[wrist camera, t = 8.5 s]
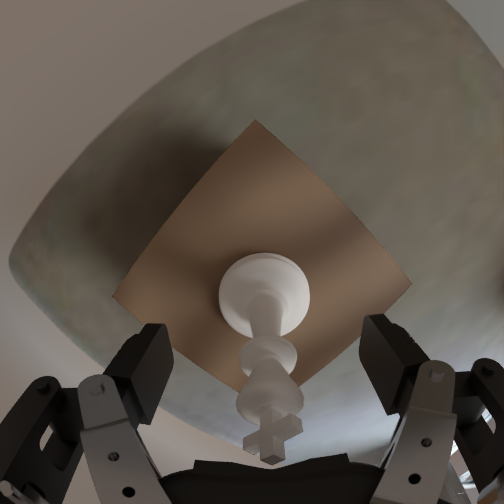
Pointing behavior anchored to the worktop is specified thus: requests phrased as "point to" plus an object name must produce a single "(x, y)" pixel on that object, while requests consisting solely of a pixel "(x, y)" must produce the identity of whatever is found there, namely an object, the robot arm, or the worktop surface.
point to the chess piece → (267, 346)
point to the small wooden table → (260, 241)
